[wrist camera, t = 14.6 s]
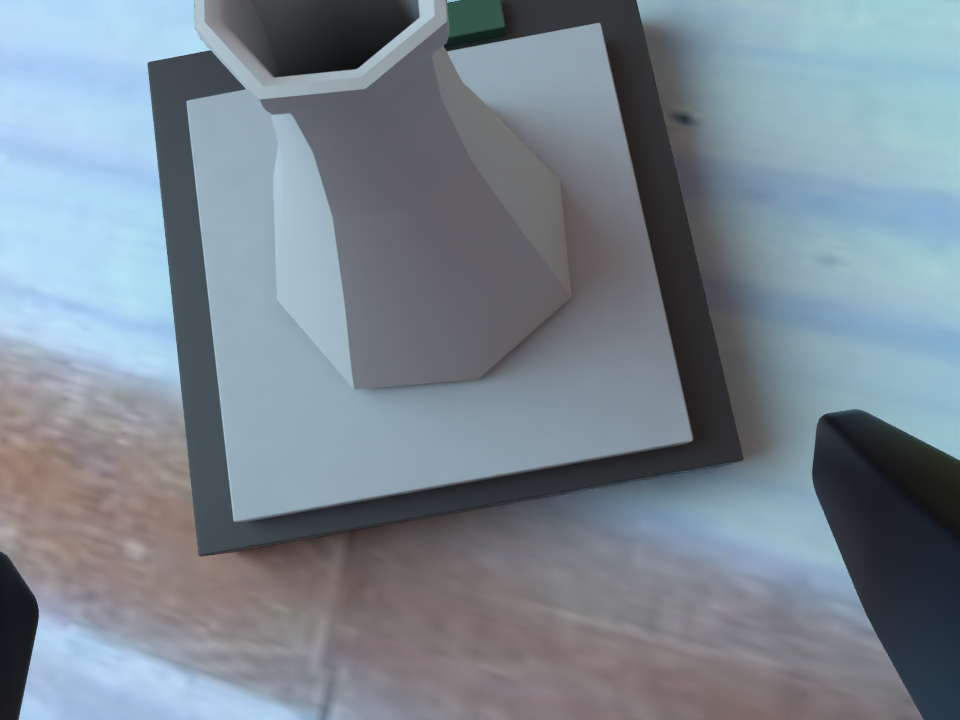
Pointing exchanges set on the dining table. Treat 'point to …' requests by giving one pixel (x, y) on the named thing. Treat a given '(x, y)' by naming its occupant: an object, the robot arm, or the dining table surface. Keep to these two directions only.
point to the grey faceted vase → (393, 189)
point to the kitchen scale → (454, 404)
